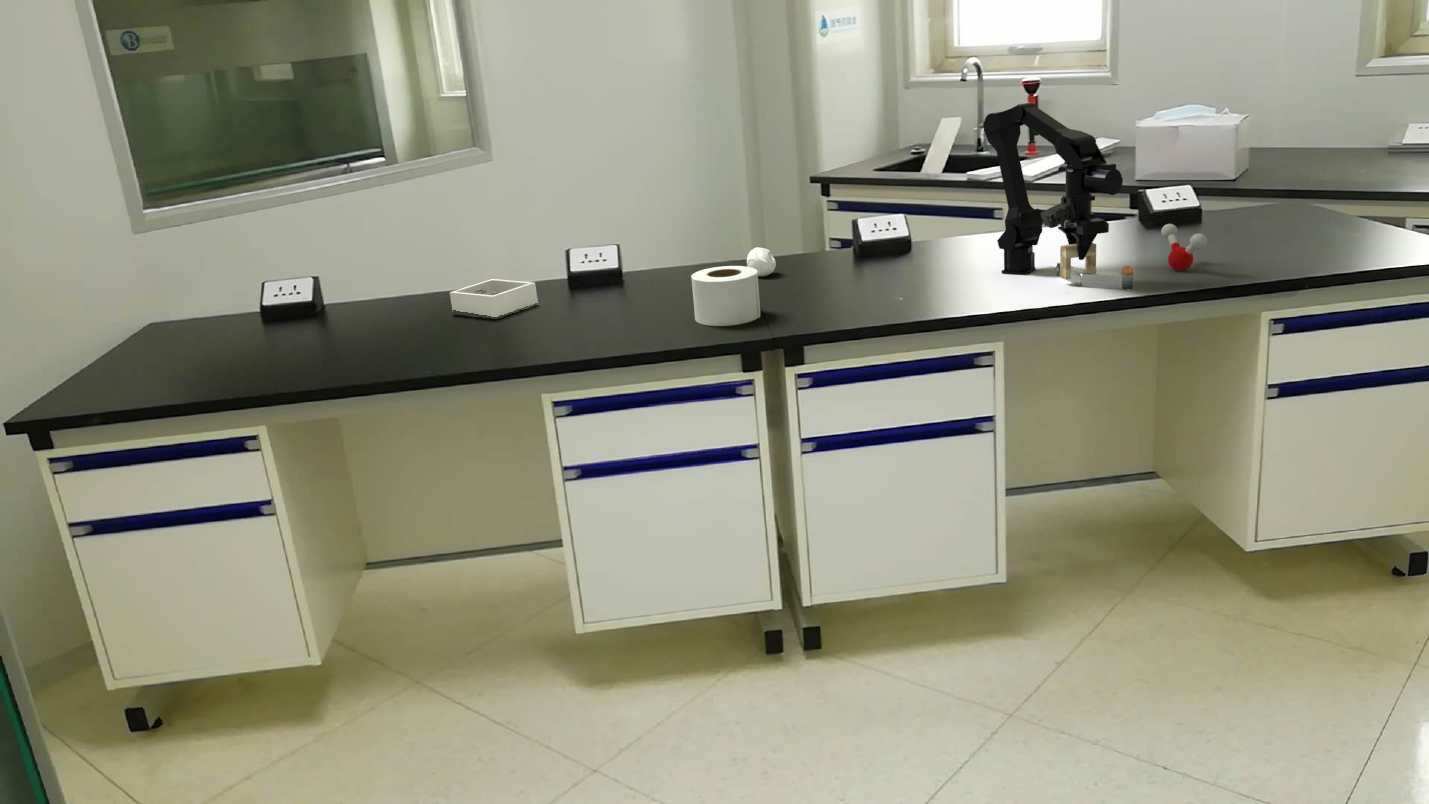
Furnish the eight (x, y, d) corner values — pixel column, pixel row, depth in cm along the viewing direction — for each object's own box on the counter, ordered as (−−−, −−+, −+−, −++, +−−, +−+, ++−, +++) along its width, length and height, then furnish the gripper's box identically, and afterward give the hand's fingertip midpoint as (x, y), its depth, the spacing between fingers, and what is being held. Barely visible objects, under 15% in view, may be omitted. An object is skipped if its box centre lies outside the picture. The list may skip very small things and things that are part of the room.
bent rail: (1040, 278, 281) (1040, 256, 279) (1060, 273, 283) (1060, 251, 282) (1115, 293, 261) (1115, 270, 259) (1135, 288, 263) (1136, 265, 262)
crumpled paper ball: (774, 279, 306) (771, 250, 303) (745, 280, 307) (743, 251, 305) (778, 272, 313) (776, 243, 311) (750, 273, 315) (748, 245, 312)
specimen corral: (453, 315, 300) (449, 292, 298) (495, 300, 311) (492, 278, 309) (496, 320, 291) (492, 296, 289) (538, 305, 302) (535, 282, 300)
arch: (1060, 277, 273) (1060, 245, 271) (1090, 273, 274) (1090, 242, 272) (1065, 279, 270) (1065, 248, 268) (1095, 275, 271) (1096, 244, 269)
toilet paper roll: (774, 312, 273) (770, 267, 269) (731, 329, 262) (727, 282, 259) (724, 306, 283) (720, 263, 279) (681, 322, 272) (677, 277, 269)
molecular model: (1209, 276, 267) (1211, 233, 264) (1186, 279, 267) (1188, 236, 264) (1173, 261, 284) (1175, 221, 281) (1151, 264, 284) (1153, 223, 280)
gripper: (1028, 190, 274) (1028, 255, 279) (1062, 201, 256) (1062, 270, 261) (1073, 184, 275) (1072, 249, 280) (1110, 195, 257) (1109, 264, 262)
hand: (1078, 258), depth 271 cm, fingers closed on arch, 3 cm apart
